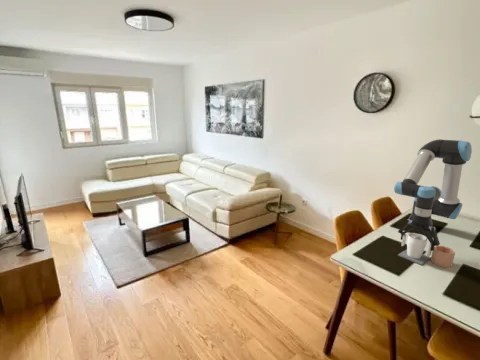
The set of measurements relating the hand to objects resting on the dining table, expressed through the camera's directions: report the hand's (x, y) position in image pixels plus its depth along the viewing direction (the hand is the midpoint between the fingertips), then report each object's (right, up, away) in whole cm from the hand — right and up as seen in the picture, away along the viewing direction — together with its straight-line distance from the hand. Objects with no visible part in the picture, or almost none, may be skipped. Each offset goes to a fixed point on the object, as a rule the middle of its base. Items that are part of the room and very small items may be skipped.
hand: (415, 250), depth 147 cm
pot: (+11, -6, -4) cm, 13 cm away
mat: (0, -4, +1) cm, 4 cm away
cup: (0, -4, +1) cm, 4 cm away
